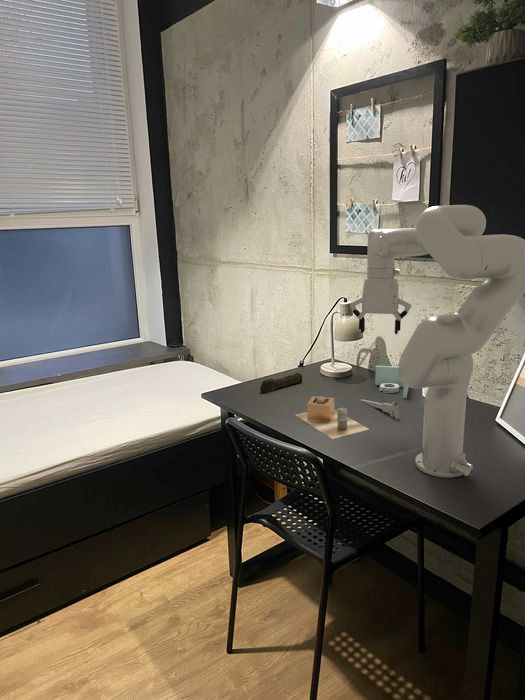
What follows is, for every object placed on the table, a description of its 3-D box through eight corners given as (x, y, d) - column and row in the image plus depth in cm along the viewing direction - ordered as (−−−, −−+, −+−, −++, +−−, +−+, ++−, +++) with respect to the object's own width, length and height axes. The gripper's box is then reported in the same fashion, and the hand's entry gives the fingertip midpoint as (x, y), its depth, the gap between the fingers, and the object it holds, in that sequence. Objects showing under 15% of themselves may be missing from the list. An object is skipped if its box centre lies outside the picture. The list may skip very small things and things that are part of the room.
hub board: (369, 432, 150) (369, 410, 149) (332, 442, 145) (332, 419, 143) (329, 409, 169) (329, 389, 167) (295, 417, 163) (294, 397, 161)
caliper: (399, 422, 157) (399, 403, 156) (396, 423, 157) (397, 404, 155) (360, 402, 175) (360, 384, 174) (357, 402, 175) (358, 385, 173)
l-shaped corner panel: (375, 384, 191) (375, 365, 189) (408, 387, 187) (409, 367, 185) (370, 395, 180) (371, 375, 178) (406, 398, 176) (407, 377, 174)
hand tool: (296, 381, 199) (296, 369, 198) (303, 383, 196) (302, 372, 195) (256, 392, 189) (255, 380, 188) (262, 395, 186) (262, 382, 184)
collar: (334, 412, 163) (334, 398, 162) (329, 421, 157) (329, 405, 156) (312, 410, 166) (312, 396, 164) (307, 419, 159) (307, 404, 158)
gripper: (413, 272, 146) (410, 330, 151) (352, 272, 152) (351, 328, 156) (411, 275, 139) (409, 336, 144) (347, 275, 145) (347, 334, 149)
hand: (379, 332), depth 150 cm, fingers open, 9 cm apart
